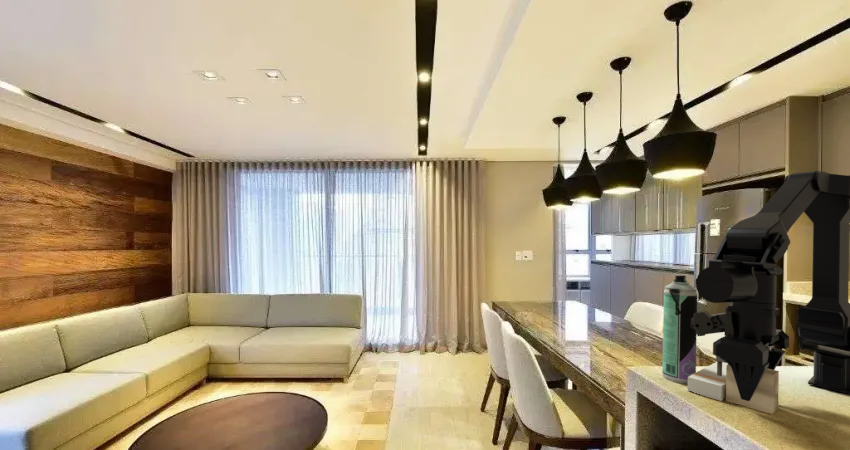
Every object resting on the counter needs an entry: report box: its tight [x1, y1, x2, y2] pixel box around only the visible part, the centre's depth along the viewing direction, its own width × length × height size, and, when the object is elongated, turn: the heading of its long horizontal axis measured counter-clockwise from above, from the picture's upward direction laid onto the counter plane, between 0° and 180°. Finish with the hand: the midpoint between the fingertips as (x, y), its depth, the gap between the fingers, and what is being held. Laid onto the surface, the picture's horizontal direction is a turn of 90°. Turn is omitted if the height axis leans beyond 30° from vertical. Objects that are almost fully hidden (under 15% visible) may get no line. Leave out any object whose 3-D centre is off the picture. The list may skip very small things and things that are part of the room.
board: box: [687, 361, 728, 402], centre depth 74 cm, size 18×5×3 cm, turn 128°
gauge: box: [715, 356, 780, 415], centre depth 67 cm, size 4×8×7 cm, turn 38°
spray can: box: [661, 275, 698, 384], centre depth 77 cm, size 6×6×20 cm
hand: (751, 394), depth 66 cm, fingers open, 7 cm apart
